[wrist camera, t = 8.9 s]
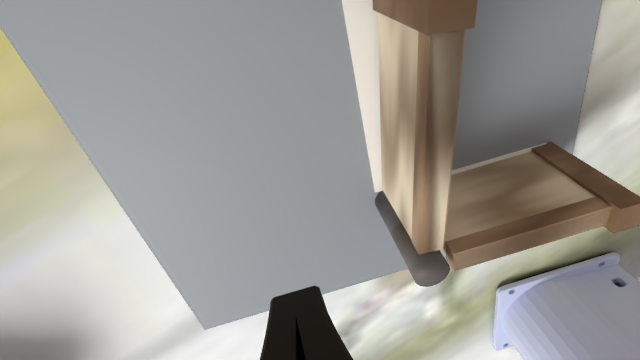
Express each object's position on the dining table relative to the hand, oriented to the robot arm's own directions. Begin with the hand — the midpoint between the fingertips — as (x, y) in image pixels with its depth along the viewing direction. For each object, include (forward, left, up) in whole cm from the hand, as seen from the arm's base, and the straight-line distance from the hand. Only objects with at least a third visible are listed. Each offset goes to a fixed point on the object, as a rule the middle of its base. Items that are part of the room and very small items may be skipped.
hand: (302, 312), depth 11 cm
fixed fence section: (-10, +4, -9) cm, 14 cm away
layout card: (-4, 0, -9) cm, 10 cm away
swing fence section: (-6, -2, -8) cm, 10 cm away
